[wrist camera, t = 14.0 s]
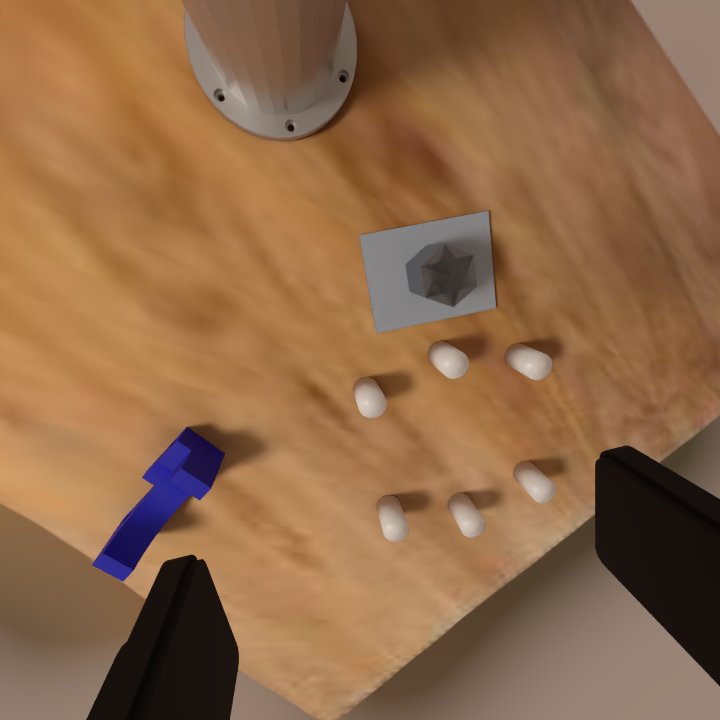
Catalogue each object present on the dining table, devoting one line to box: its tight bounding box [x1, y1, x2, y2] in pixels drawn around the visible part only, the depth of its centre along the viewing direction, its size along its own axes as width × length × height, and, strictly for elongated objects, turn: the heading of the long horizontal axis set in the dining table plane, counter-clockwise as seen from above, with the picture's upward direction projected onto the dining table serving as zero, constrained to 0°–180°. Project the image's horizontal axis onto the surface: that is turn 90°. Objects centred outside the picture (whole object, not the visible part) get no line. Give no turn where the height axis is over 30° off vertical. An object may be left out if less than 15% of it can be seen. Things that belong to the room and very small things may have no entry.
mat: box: [359, 211, 496, 333], centre depth 36 cm, size 9×12×1 cm
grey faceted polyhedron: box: [405, 244, 477, 307], centre depth 33 cm, size 5×4×5 cm
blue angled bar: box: [92, 427, 225, 581], centre depth 35 cm, size 12×4×6 cm, turn 136°
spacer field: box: [353, 341, 557, 541], centre depth 39 cm, size 21×19×4 cm
